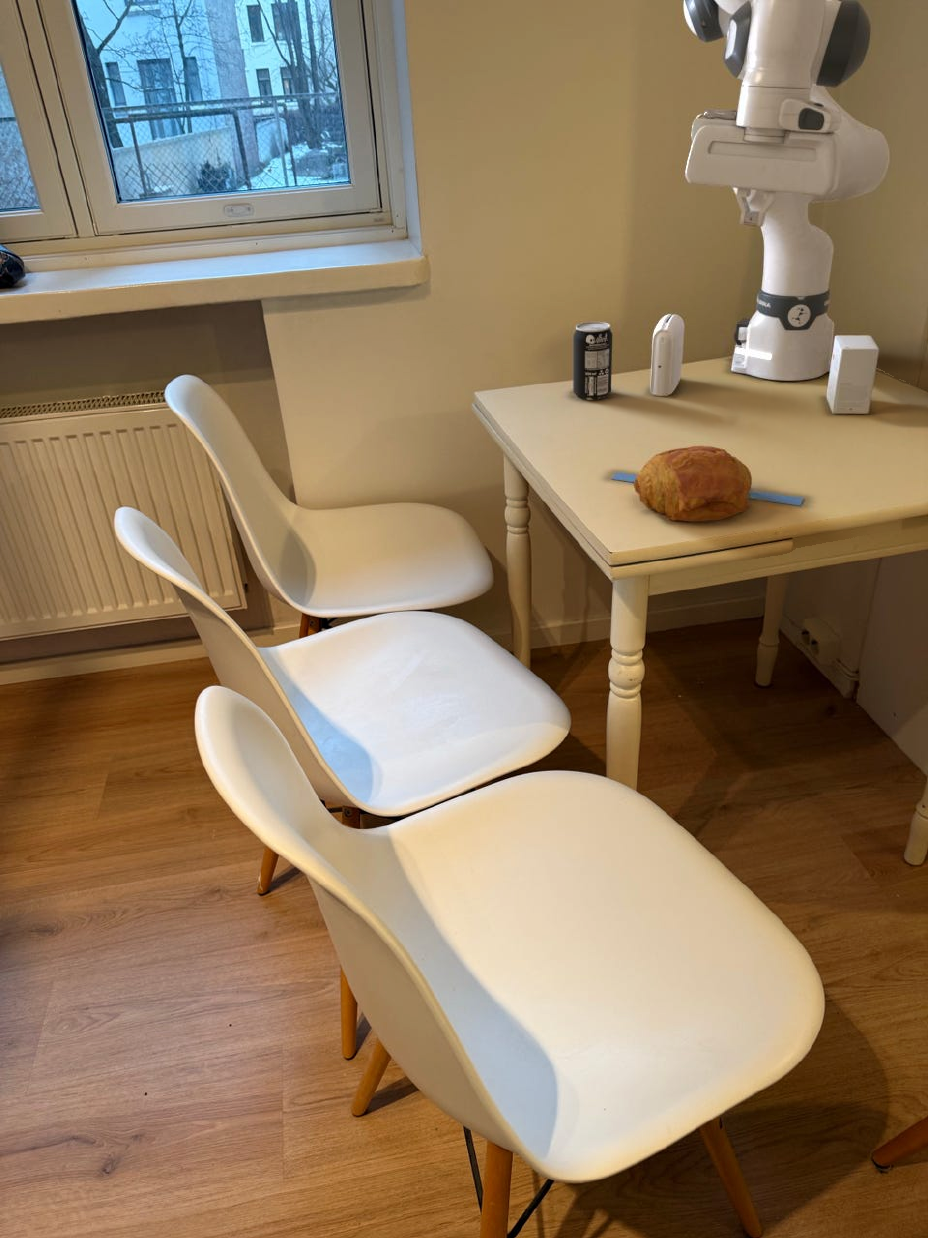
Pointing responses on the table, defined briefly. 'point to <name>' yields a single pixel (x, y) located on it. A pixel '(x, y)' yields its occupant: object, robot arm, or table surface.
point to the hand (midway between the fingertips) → (751, 225)
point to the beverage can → (592, 360)
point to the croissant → (694, 484)
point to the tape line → (752, 494)
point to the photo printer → (667, 355)
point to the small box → (852, 374)
